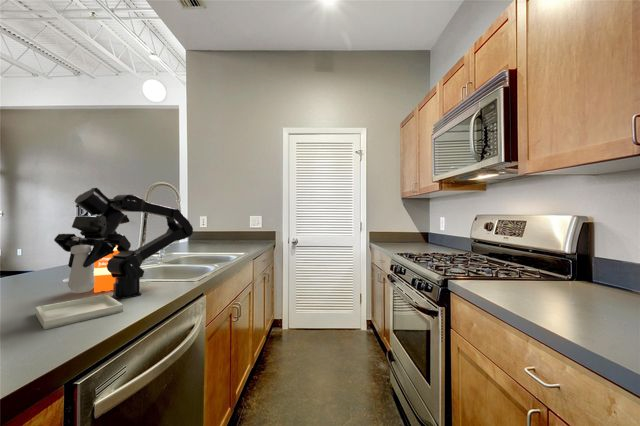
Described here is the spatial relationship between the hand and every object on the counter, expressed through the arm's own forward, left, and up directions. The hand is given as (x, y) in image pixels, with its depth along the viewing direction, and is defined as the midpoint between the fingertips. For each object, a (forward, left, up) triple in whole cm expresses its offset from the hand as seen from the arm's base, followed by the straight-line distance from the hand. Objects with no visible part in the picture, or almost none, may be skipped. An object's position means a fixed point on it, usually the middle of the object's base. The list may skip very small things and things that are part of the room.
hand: (77, 266), depth 76 cm
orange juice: (-14, -26, -13) cm, 32 cm away
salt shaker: (-1, -1, -7) cm, 7 cm away
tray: (-1, -1, -13) cm, 13 cm away
